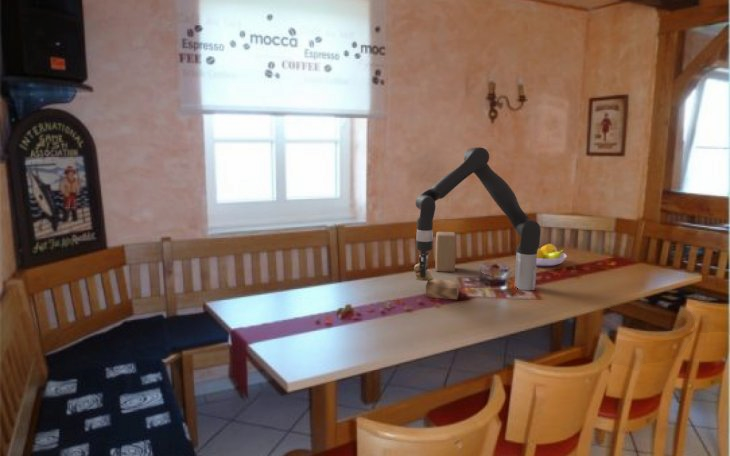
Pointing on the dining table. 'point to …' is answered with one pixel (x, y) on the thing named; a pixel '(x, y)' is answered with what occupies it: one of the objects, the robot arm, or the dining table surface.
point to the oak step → (442, 289)
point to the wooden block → (445, 251)
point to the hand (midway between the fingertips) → (423, 275)
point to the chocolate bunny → (418, 272)
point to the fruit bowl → (549, 256)
